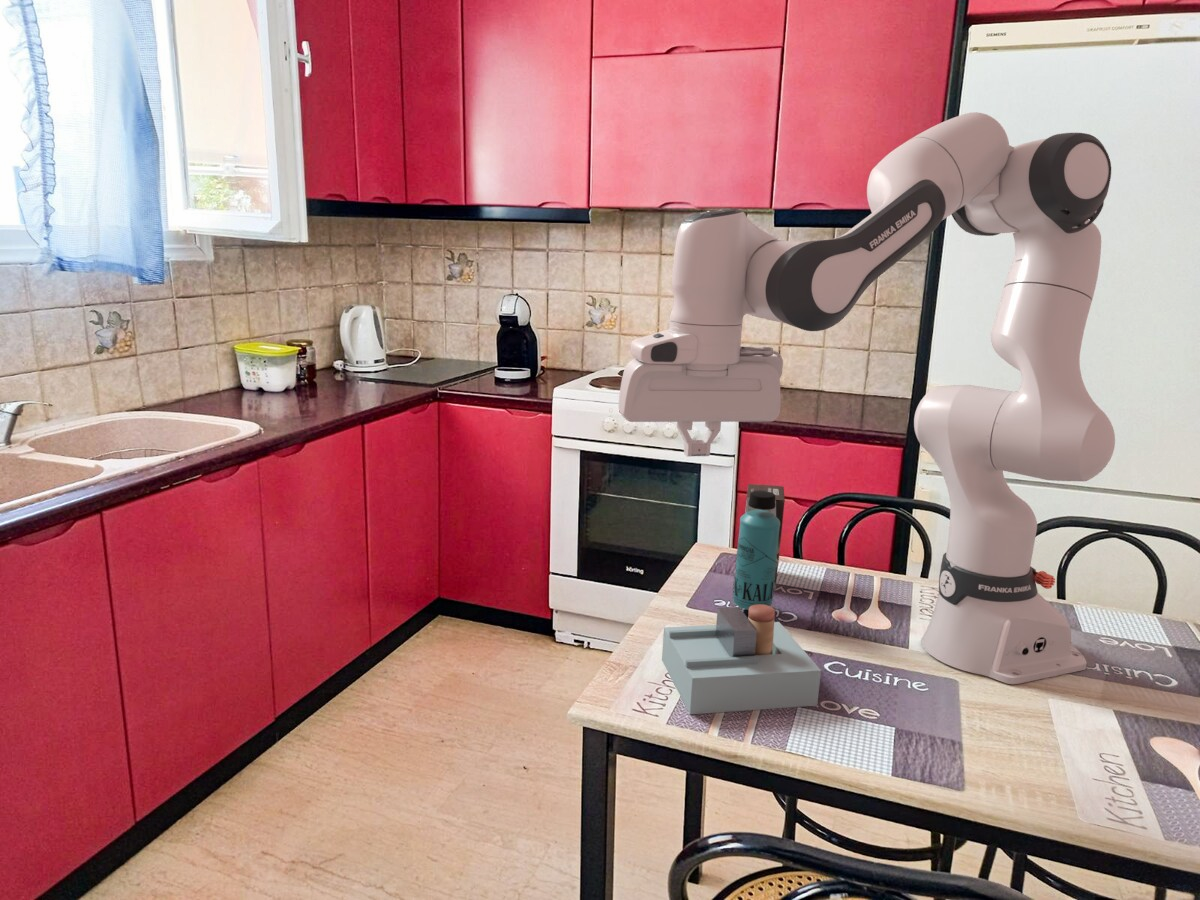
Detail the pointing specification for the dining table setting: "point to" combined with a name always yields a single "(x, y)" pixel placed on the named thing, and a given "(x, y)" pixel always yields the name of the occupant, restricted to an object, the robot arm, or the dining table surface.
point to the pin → (763, 627)
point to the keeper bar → (735, 632)
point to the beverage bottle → (756, 552)
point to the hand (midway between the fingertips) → (696, 455)
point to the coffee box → (776, 511)
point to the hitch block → (738, 672)
